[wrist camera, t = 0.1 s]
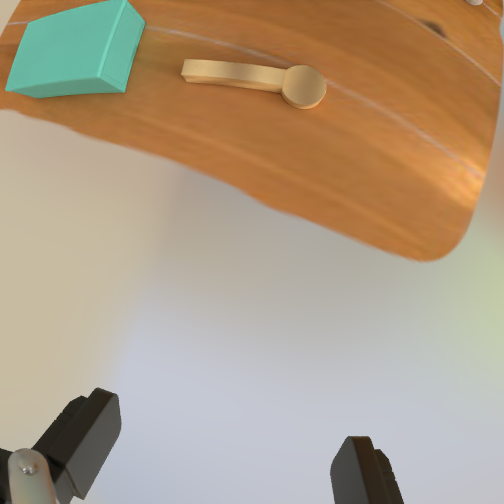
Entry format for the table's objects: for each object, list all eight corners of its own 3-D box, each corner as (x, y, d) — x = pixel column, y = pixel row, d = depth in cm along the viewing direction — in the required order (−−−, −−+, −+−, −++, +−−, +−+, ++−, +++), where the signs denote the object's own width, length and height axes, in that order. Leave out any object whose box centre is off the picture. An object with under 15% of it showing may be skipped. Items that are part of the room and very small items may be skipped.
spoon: (184, 93, 33) (177, 86, 30) (193, 56, 32) (187, 47, 29) (320, 113, 33) (324, 107, 30) (326, 75, 32) (330, 67, 29)
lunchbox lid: (8, 91, 27) (4, 90, 26) (31, 24, 24) (28, 22, 24) (100, 78, 27) (96, 76, 26) (127, 0, 24) (124, -3, 23)
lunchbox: (37, 98, 34) (10, 91, 27) (57, 36, 31) (33, 23, 25) (124, 92, 33) (100, 78, 27) (146, 22, 31) (127, 0, 24)
